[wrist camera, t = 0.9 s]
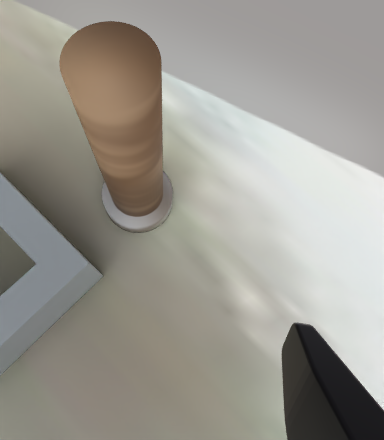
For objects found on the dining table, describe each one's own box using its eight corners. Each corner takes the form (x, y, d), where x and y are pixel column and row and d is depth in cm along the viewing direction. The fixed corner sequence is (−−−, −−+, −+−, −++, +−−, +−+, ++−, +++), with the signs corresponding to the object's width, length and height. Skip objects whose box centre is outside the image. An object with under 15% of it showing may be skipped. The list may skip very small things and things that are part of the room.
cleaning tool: (138, 246, 23) (107, 149, 11) (91, 200, 24) (10, 58, 11) (185, 200, 24) (207, 63, 12) (139, 158, 25) (114, -14, 12)
